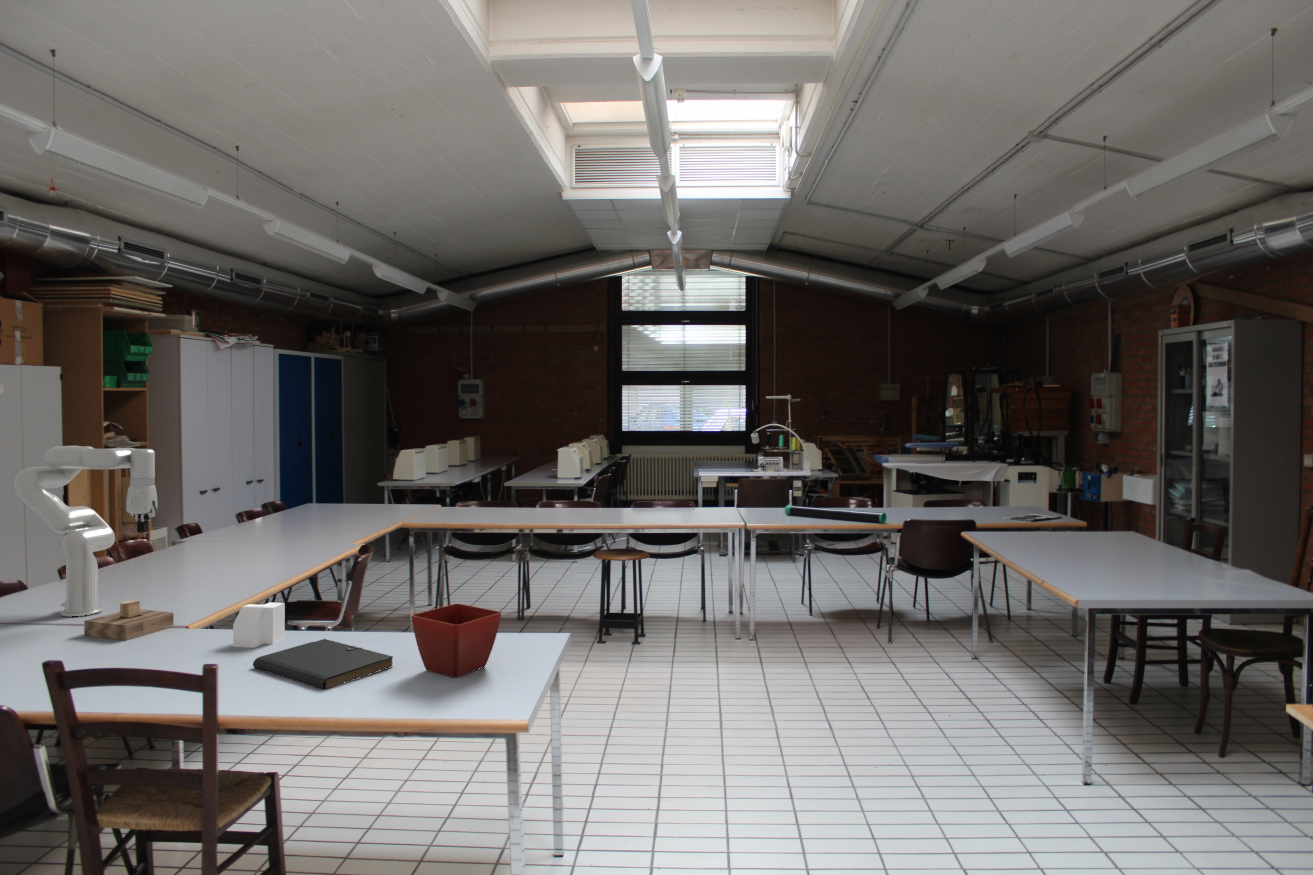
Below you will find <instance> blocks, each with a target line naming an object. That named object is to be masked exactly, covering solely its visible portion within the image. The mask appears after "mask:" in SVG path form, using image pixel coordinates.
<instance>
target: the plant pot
mask: <svg viewBox="0 0 1313 875" xmlns="http://www.w3.org/2000/svg"><path fill="white" fill-rule="evenodd" d="M501 618H502V611H496V610H493V609H488V608H482V607H477V606H472V605H467V604H462V603H452V604H449V605H445V606H441V607H438V608H437V607H436V608H434V609H430V610H426V611H422V612H419V613H414V614H411V621H412V628H413V633H414V638H415V642H416V646H417V649H418V652H419V655H420V658H421V661H422V663H423V666H424V668H425V670H426V671H428V672H430V673H431V672H432V673H434V672H435V674H438V673H439V674H438V675H442V674H443V675H444V676H446V677H449V676H450V677H449V678H453V677H454V678H453V679H456V678H455V677H457V678H460V677H463V676H465V675H464V674H466V673H468V674H470V673H469V672H471V673H473V672H472V671H474V670H476V671H478V670H477V669H479V668H481V667H484V666H485V665H487V663H488V661H489V658H490V657H491V656H490V655H491V653H492V650H493V648H494V645H495V641H496V638H497V635H498V634H497V633H498V631H499V626H500V622H501ZM485 667H486V666H485ZM485 667H484V668H485ZM479 670H480V669H479ZM474 672H475V671H474ZM462 675H463V676H462ZM466 675H467V674H466ZM459 676H460V677H459Z"/></svg>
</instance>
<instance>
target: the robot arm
mask: <svg viewBox="0 0 1313 875" xmlns="http://www.w3.org/2000/svg"><path fill="white" fill-rule="evenodd" d="M155 454H156V452H155V450H153V449H151V448H135V447H115V448H94V447H93V446H89V445H85V446H81V445H57V446H54V447H51V448H49V449H48V450H47V451H46V452H45V453H44V458H43V459H44V462H45V463H46V464H47V465H46V466H33V467H28V468H25V469H22V470H21V471H19V472H18V473H17V474H16V476H15V477H14V478H15V479H14V489H15V492H16V494H17V496H18V497H19V499H20V500H22V502H23V503H24V504H26V505H27V506H28V507H29V508H30V509H32V510H33V511H34V513H35V514H36V515H37V516H38V517H40V519H41V520H42V521H43V522H44V523H45V524H46V525H47V527H49V528H50V529H51V530H52V531H53V532H54V533H57V534H65V536H64V537H63V539H62V549H63V553H64V557H65V586H66V587H65V592H66V593H65V599H66V600H65V601H64V602H61V603H60V606H61V607H64V610H62V611H60V616H61V617H68V618H69V617H71V618H73V617H72V616H78V617H84V616H85V615H87V616H91V614H92V615H96V614H95V613H97V614H100V613H102V612H103V611H104V608H103V606H100V605H99V566H98V561H97V559H96V557H95V555H94V553H95V552H100V551H104V550H107V549H109V548H111V547H112V546H113V545H114V543H115V541H116V535H115V532H114V530H113V529H112V527H111V526H110V525H109V524H108V523H107V522H106V521H105V520H104V519H103V518H102V517H101V516H100V515H99V514H98V513H97V512H96V511H95V510H94V509H93V508H91V507H88V506H85V505H77V506H69V505H67V504H66V503H64V502H63V501H62V500H61V499H60V497H59V496H57V495H55V494H54V493H52V492H50V491H48V489H58V488H62V487H64V486H66V485H68V484H69V483H70V482H71V481H72V480H73V479H75V477H76V476H77V475H79V473H80V472H81V471H82V470H116V469H130V470H129V474H130V475H129V476H130V479H129V482H130V483H129V484H130V485H129V486H128V489H127V494H126V504H125V505H126V507H125V510H126V512H127V513H129V516H132V517H134V519H135V522H136V532H137V533H147V532H149V522H150V520H151V518H153V517H156V512H158V493H157V488H156V487H157V486H156V484H155V482H156V480H155V479H156V478H155V477H156V463H155V462H156V455H155ZM46 489H47V490H46ZM102 610H103V611H102ZM101 611H102V612H101ZM99 612H100V613H99ZM85 617H86V616H85Z"/></svg>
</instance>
